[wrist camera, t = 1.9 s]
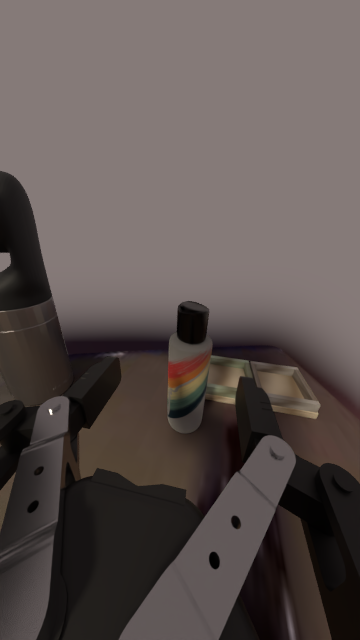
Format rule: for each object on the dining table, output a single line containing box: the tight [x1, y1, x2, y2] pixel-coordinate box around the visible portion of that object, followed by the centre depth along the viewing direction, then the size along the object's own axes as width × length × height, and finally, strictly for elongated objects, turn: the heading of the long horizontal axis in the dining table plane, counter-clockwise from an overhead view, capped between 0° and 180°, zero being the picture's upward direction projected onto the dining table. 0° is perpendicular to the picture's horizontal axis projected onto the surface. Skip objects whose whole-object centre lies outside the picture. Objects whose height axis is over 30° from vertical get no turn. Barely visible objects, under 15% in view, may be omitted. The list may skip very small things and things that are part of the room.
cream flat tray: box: [205, 355, 321, 419], centre depth 36 cm, size 20×10×3 cm, turn 80°
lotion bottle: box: [168, 301, 212, 433], centre depth 26 cm, size 6×6×20 cm
